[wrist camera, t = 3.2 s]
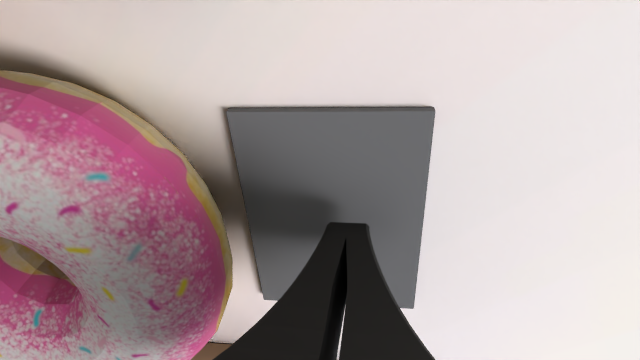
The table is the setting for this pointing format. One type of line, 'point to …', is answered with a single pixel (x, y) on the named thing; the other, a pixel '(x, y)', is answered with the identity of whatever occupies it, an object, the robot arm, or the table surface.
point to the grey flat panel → (333, 185)
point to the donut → (101, 232)
